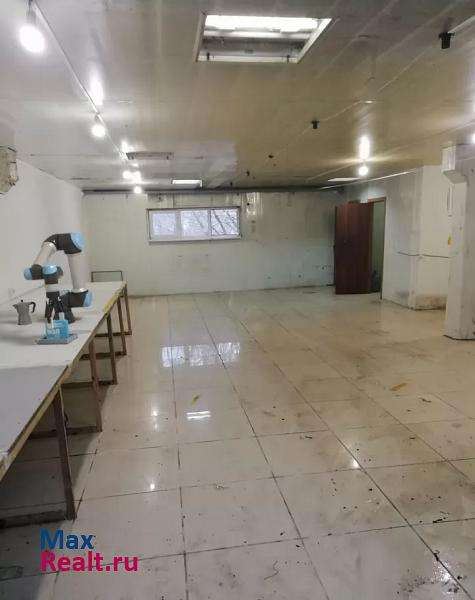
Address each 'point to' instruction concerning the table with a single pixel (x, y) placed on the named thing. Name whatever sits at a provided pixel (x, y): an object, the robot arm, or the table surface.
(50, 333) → the data package
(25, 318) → the coffeepot
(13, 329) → the table surface
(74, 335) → the tray
